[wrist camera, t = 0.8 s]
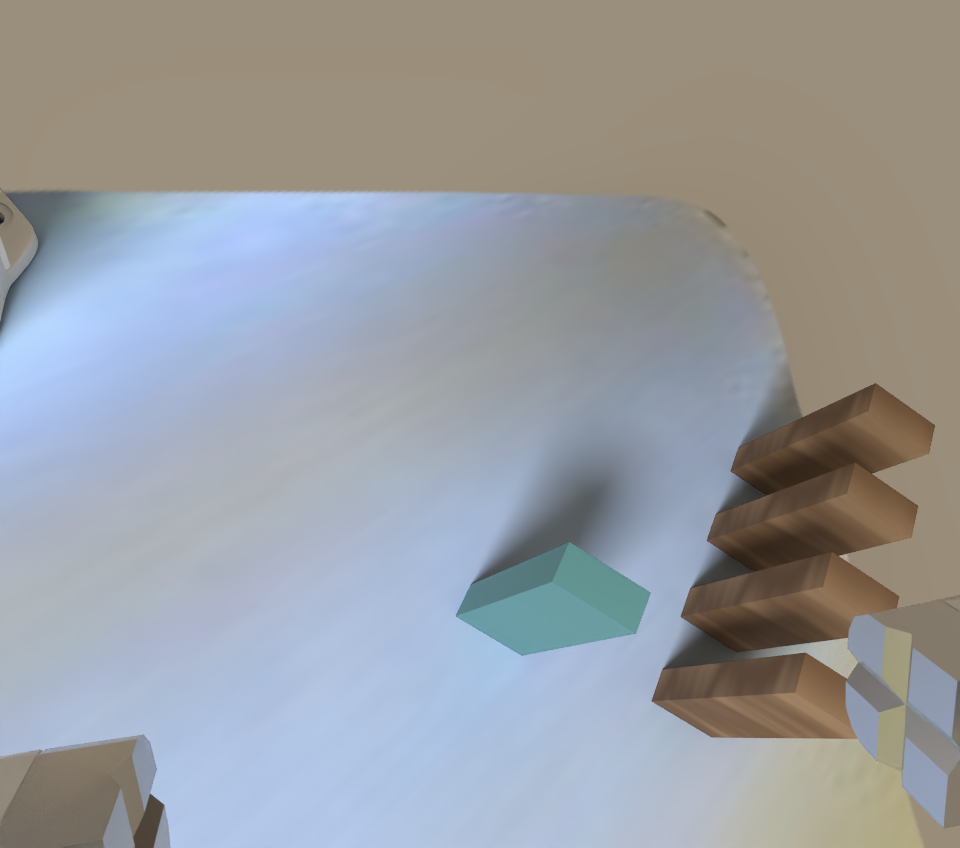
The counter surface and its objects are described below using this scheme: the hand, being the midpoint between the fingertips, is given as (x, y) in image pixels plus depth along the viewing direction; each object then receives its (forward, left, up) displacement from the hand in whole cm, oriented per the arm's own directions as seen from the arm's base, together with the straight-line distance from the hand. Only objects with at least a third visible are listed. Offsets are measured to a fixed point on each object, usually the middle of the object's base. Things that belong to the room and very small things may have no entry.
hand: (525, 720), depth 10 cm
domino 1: (+3, +15, -35) cm, 38 cm away
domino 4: (+10, +27, -35) cm, 45 cm away
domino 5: (+13, +23, -35) cm, 43 cm away
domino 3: (+8, +32, -35) cm, 48 cm away
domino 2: (+5, +37, -35) cm, 51 cm away
